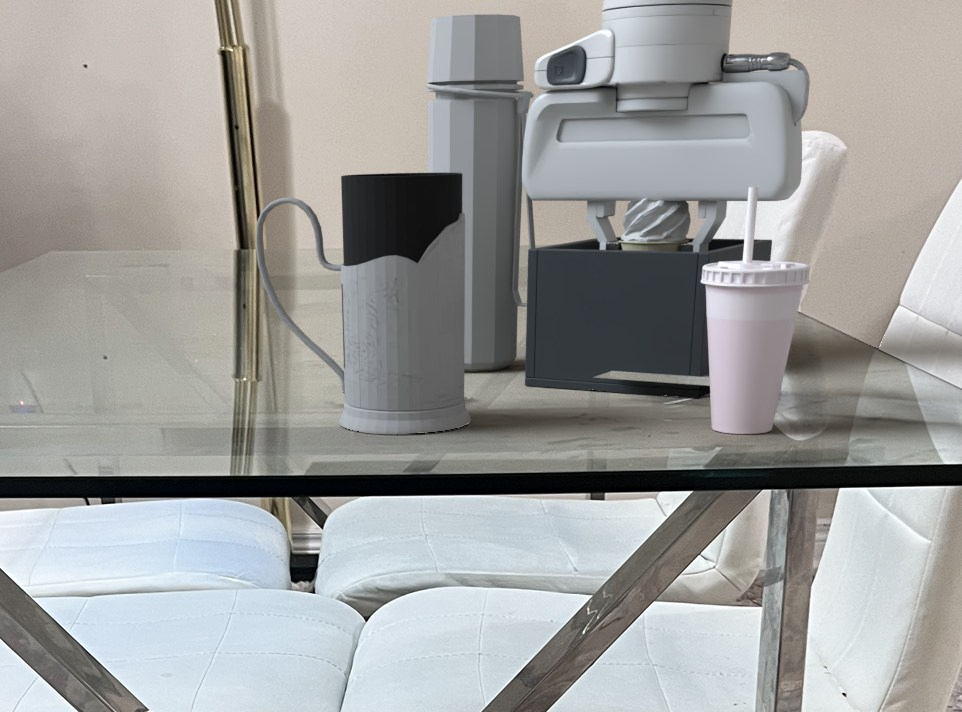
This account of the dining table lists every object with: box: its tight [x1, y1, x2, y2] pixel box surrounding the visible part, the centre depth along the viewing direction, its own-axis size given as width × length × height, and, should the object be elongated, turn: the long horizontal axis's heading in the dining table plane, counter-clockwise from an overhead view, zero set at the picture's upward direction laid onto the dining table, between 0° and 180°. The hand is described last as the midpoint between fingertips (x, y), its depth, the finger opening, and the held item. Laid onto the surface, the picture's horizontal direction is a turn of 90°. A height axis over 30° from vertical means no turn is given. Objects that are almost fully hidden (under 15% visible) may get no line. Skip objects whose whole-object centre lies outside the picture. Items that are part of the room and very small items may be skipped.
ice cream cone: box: [619, 198, 691, 252], centre depth 103 cm, size 5×5×15 cm
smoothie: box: [701, 187, 811, 435], centre depth 85 cm, size 6×6×14 cm
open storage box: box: [524, 236, 773, 400], centre depth 105 cm, size 14×14×10 cm
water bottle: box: [425, 13, 536, 373], centre depth 108 cm, size 9×8×25 cm
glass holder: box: [254, 172, 472, 435], centre depth 90 cm, size 9×14×15 cm, turn 73°
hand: (651, 268), depth 103 cm, fingers closed on ice cream cone, 5 cm apart
